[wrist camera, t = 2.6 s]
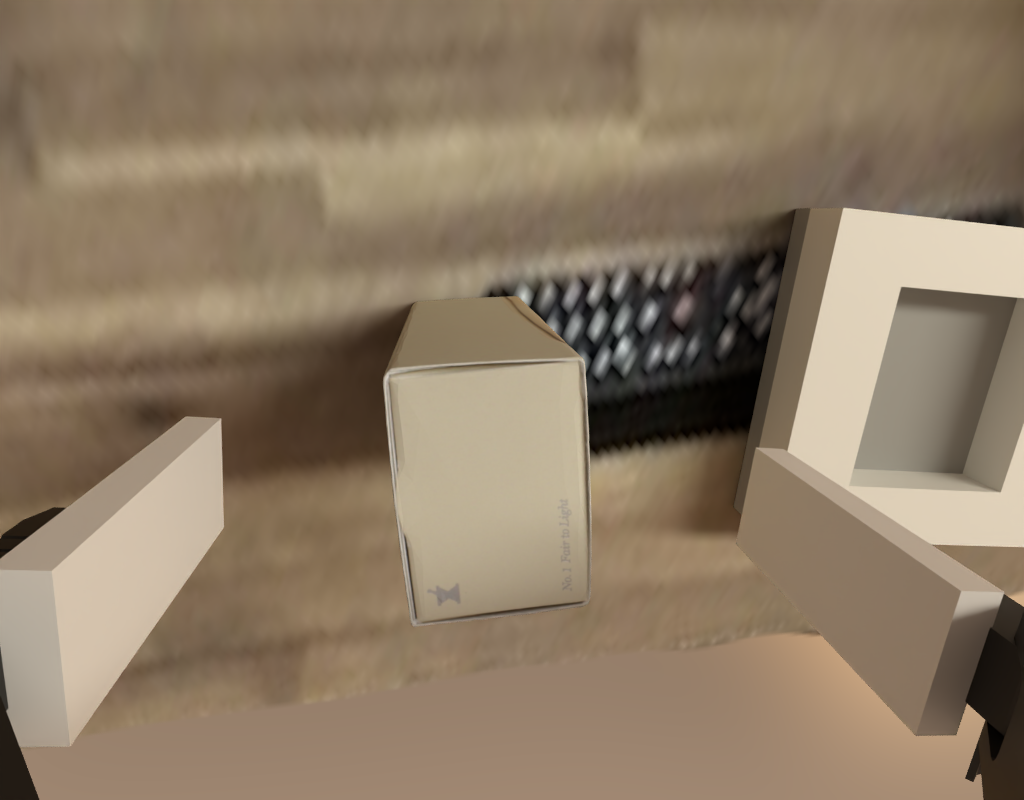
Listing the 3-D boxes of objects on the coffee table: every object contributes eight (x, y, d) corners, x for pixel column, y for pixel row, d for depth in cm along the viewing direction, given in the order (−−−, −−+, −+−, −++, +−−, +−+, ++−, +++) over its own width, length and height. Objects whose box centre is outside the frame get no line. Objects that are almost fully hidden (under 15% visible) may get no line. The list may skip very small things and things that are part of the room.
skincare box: (525, 439, 26) (599, 616, 15) (418, 448, 26) (408, 638, 14) (518, 288, 25) (596, 354, 13) (403, 295, 24) (378, 370, 12)
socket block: (733, 507, 28) (767, 539, 26) (796, 208, 25) (843, 207, 22) (985, 516, 30) (1043, 547, 27) (1077, 239, 27) (1154, 242, 24)
